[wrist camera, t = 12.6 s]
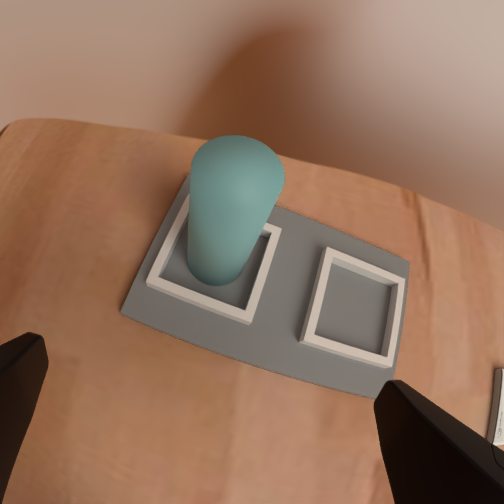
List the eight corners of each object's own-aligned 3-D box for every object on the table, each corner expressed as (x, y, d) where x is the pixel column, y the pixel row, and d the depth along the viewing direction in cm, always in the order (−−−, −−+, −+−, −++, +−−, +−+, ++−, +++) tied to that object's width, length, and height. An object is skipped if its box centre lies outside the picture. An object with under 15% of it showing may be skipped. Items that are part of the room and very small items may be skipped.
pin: (206, 296, 21) (222, 226, 12) (176, 248, 22) (174, 153, 13) (255, 268, 23) (302, 187, 14) (225, 223, 24) (251, 125, 15)
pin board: (405, 264, 26) (416, 257, 25) (383, 401, 21) (395, 401, 20) (188, 177, 25) (189, 165, 24) (121, 314, 20) (116, 309, 19)
